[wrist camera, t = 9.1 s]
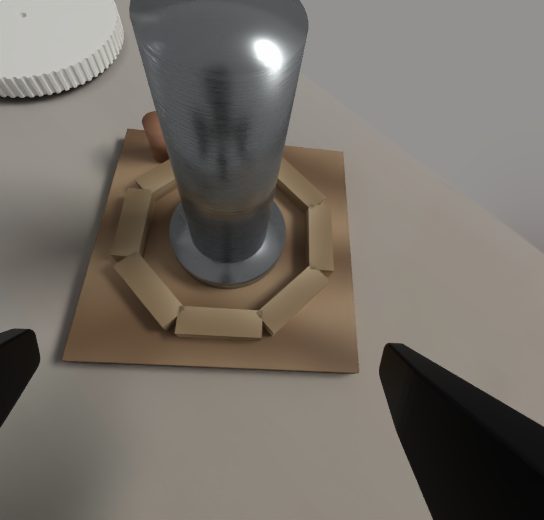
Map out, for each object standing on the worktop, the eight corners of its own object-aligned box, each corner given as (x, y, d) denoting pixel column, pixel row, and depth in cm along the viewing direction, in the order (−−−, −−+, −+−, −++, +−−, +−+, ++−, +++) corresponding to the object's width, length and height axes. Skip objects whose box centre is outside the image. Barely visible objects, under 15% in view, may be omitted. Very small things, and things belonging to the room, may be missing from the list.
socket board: (353, 373, 19) (382, 369, 15) (71, 361, 17) (26, 353, 13) (338, 160, 25) (357, 120, 21) (131, 138, 23) (112, 92, 20)
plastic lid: (13, -18, 29) (-6, -54, 27) (154, 25, 29) (147, -7, 27) (-100, 76, 24) (-136, 42, 21) (74, 130, 24) (57, 102, 21)
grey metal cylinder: (214, 312, 18) (176, 160, 6) (151, 225, 20) (27, -27, 8) (304, 249, 20) (404, 48, 8) (241, 175, 22) (249, -79, 10)
